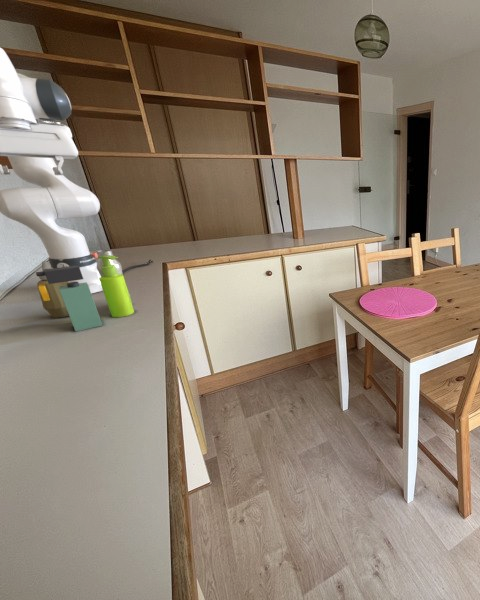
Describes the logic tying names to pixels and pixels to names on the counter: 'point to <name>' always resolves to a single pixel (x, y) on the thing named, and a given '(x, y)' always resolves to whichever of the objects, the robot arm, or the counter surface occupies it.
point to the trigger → (44, 292)
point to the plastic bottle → (113, 262)
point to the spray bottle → (74, 296)
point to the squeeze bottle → (53, 295)
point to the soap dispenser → (115, 289)
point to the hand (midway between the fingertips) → (33, 174)
